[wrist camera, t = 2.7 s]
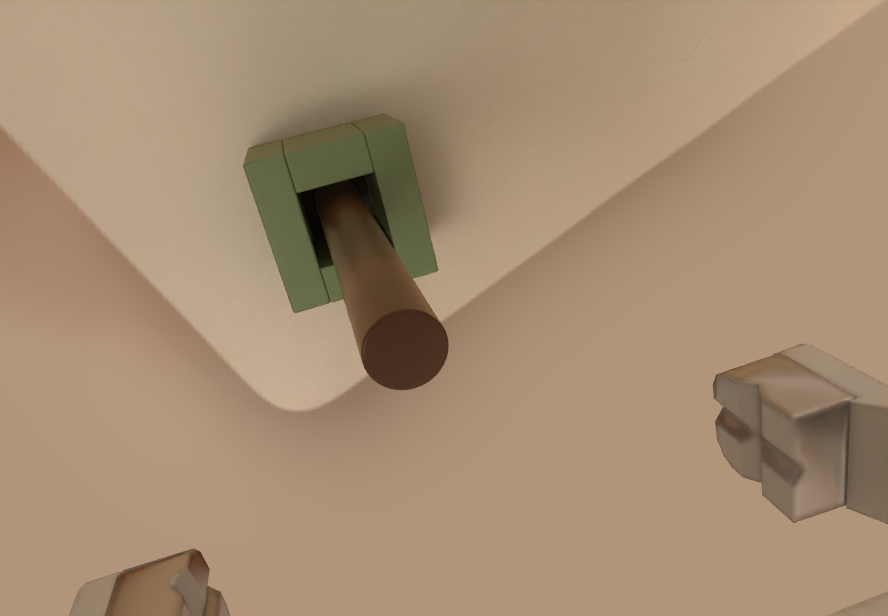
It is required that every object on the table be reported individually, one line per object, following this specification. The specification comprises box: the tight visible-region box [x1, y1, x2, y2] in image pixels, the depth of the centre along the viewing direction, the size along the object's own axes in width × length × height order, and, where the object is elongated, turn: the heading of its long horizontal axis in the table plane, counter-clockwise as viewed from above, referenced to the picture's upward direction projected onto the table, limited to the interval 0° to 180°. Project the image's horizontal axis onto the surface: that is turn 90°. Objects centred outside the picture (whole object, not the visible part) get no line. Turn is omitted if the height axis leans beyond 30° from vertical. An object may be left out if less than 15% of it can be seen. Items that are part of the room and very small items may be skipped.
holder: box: [243, 114, 438, 313], centre depth 29 cm, size 6×6×5 cm
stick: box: [315, 180, 448, 390], centre depth 23 cm, size 2×2×18 cm
